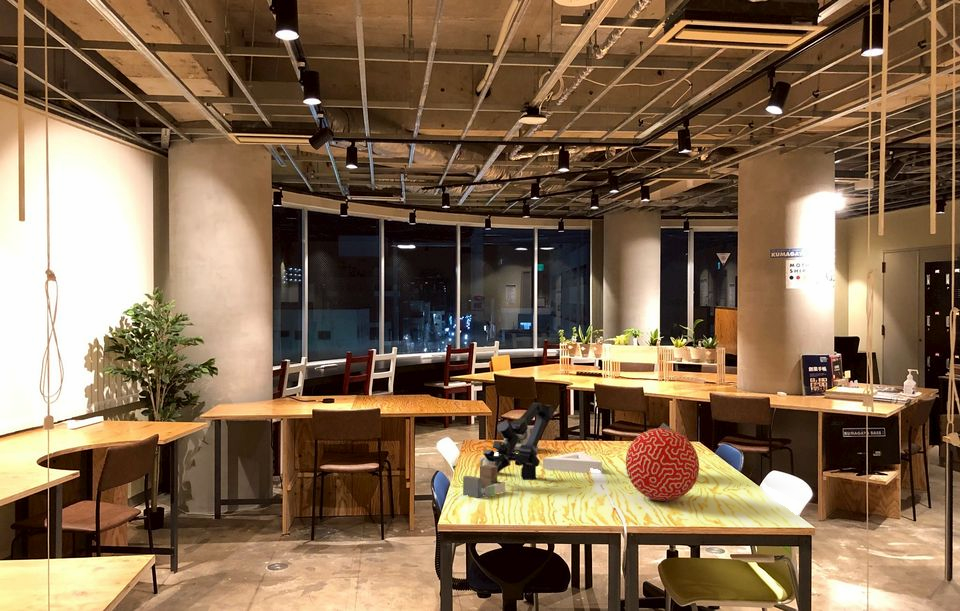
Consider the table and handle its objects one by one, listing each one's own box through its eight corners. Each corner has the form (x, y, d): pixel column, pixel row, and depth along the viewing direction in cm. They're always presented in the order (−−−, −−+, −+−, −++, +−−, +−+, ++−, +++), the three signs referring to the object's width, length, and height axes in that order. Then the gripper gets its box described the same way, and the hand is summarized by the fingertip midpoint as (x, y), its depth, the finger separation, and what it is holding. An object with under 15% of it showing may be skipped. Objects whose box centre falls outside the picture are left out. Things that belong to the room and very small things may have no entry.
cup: (497, 475, 349) (497, 457, 349) (477, 474, 351) (477, 456, 352) (500, 472, 356) (500, 454, 356) (481, 471, 358) (481, 453, 359)
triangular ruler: (542, 470, 362) (542, 458, 363) (554, 461, 387) (554, 449, 387) (601, 475, 353) (601, 462, 353) (609, 465, 377) (609, 453, 377)
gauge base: (486, 487, 323) (486, 478, 323) (506, 491, 316) (506, 481, 316) (466, 493, 311) (466, 483, 311) (486, 497, 304) (486, 487, 304)
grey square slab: (466, 493, 311) (466, 475, 311) (481, 496, 306) (481, 478, 306) (463, 495, 309) (463, 476, 309) (477, 497, 304) (477, 479, 304)
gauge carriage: (486, 484, 321) (486, 464, 321) (506, 488, 314) (506, 467, 314) (479, 486, 317) (479, 466, 317) (499, 490, 310) (499, 469, 310)
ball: (620, 491, 317) (620, 423, 317) (688, 491, 316) (688, 423, 316) (632, 508, 287) (632, 433, 287) (708, 509, 286) (707, 434, 286)
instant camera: (501, 454, 405) (501, 428, 405) (501, 448, 425) (501, 422, 426) (538, 454, 404) (538, 428, 404) (537, 448, 424) (537, 423, 425)
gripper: (485, 432, 331) (471, 459, 322) (519, 436, 320) (504, 464, 311) (495, 446, 337) (481, 474, 328) (528, 451, 326) (515, 479, 317)
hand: (495, 472), depth 321 cm, fingers closed
